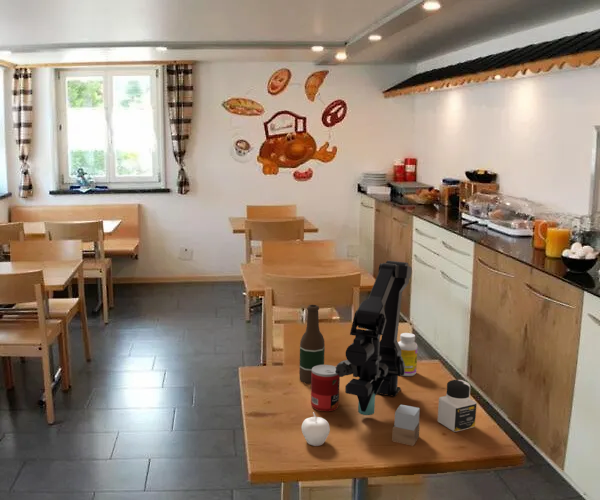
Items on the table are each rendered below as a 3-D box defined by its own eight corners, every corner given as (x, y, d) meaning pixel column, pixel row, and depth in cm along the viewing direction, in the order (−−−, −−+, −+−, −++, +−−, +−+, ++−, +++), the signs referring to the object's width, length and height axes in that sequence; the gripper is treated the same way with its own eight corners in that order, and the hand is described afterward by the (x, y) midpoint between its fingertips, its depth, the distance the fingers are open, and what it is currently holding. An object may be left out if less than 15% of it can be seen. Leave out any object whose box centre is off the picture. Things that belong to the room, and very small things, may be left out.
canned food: (336, 413, 180) (337, 375, 178) (308, 410, 181) (309, 373, 179) (340, 401, 187) (341, 365, 185) (313, 399, 189) (314, 363, 186)
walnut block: (398, 432, 169) (398, 418, 168) (418, 437, 167) (419, 422, 166) (392, 441, 164) (392, 426, 164) (413, 446, 162) (414, 431, 161)
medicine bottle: (454, 432, 169) (457, 389, 167) (436, 421, 176) (439, 379, 173) (475, 427, 173) (478, 384, 170) (457, 416, 179) (460, 375, 177)
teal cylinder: (361, 407, 180) (361, 390, 179) (376, 410, 178) (377, 392, 177) (355, 413, 176) (356, 395, 175) (371, 416, 174) (372, 398, 173)
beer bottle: (308, 373, 208) (310, 300, 204) (328, 379, 204) (330, 305, 199) (294, 380, 202) (295, 306, 197) (314, 386, 198) (316, 310, 193)
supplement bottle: (417, 377, 206) (419, 338, 204) (396, 376, 207) (398, 338, 204) (415, 369, 213) (417, 332, 210) (394, 368, 213) (396, 331, 211)
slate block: (399, 418, 168) (400, 404, 167) (418, 422, 166) (419, 408, 165) (394, 426, 164) (395, 411, 163) (413, 430, 162) (414, 415, 161)
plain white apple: (309, 433, 168) (310, 404, 166) (334, 440, 164) (335, 411, 163) (295, 444, 162) (296, 414, 160) (320, 452, 158) (321, 421, 157)
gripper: (351, 338, 185) (350, 390, 188) (327, 359, 168) (325, 415, 171) (389, 344, 181) (387, 397, 184) (368, 366, 164) (366, 424, 167)
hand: (366, 407), depth 176 cm, fingers closed on teal cylinder, 4 cm apart
